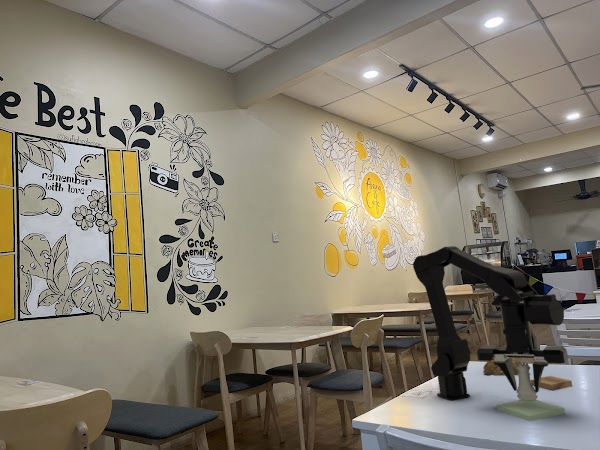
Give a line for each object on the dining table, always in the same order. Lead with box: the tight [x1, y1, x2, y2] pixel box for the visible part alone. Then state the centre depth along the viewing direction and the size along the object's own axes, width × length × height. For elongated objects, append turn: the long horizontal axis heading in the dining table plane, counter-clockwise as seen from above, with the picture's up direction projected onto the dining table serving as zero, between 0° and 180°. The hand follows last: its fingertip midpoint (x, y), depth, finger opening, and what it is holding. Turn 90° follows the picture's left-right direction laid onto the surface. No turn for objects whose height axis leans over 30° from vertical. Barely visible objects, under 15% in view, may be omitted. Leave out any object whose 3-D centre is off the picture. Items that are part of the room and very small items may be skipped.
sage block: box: [496, 399, 566, 422], centre depth 103 cm, size 10×10×2 cm
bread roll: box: [483, 357, 523, 377], centre depth 143 cm, size 13×12×5 cm
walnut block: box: [530, 375, 573, 391], centre depth 122 cm, size 7×7×2 cm
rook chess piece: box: [515, 361, 539, 401], centre depth 104 cm, size 4×4×8 cm
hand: (526, 391), depth 103 cm, fingers closed on rook chess piece, 4 cm apart
